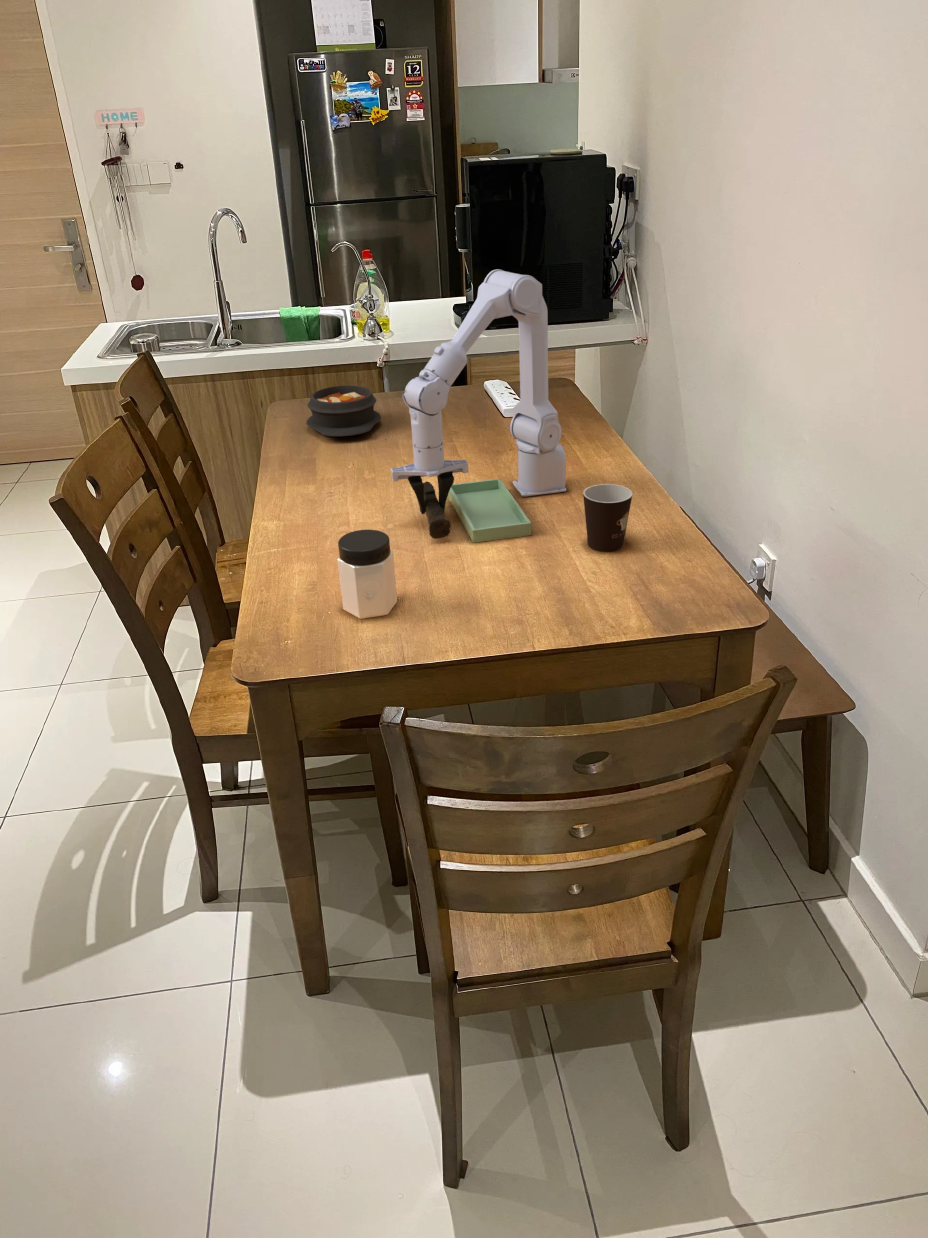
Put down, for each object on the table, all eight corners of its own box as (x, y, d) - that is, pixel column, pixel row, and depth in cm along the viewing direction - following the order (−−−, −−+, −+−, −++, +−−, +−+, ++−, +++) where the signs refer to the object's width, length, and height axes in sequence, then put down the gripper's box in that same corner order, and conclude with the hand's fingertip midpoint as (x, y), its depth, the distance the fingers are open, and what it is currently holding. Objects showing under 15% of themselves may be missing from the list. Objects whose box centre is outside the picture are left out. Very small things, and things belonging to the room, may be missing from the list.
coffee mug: (599, 558, 165) (601, 506, 160) (572, 541, 171) (573, 490, 166) (652, 543, 169) (656, 492, 164) (624, 526, 176) (627, 477, 171)
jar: (346, 622, 149) (338, 554, 143) (340, 598, 156) (332, 533, 150) (401, 614, 150) (395, 547, 144) (393, 590, 157) (387, 525, 151)
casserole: (386, 439, 223) (384, 405, 219) (308, 447, 221) (304, 412, 217) (376, 408, 245) (374, 376, 240) (305, 415, 242) (301, 383, 238)
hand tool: (451, 538, 172) (450, 515, 170) (430, 540, 172) (428, 517, 170) (440, 498, 189) (438, 477, 186) (420, 500, 188) (418, 479, 186)
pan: (500, 489, 194) (500, 478, 193) (531, 535, 174) (531, 522, 173) (447, 495, 192) (447, 484, 191) (473, 542, 172) (472, 530, 171)
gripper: (392, 455, 169) (398, 523, 175) (470, 445, 171) (473, 513, 178) (386, 442, 175) (392, 509, 181) (462, 433, 177) (465, 500, 184)
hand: (432, 510), depth 180 cm, fingers closed on hand tool, 3 cm apart
